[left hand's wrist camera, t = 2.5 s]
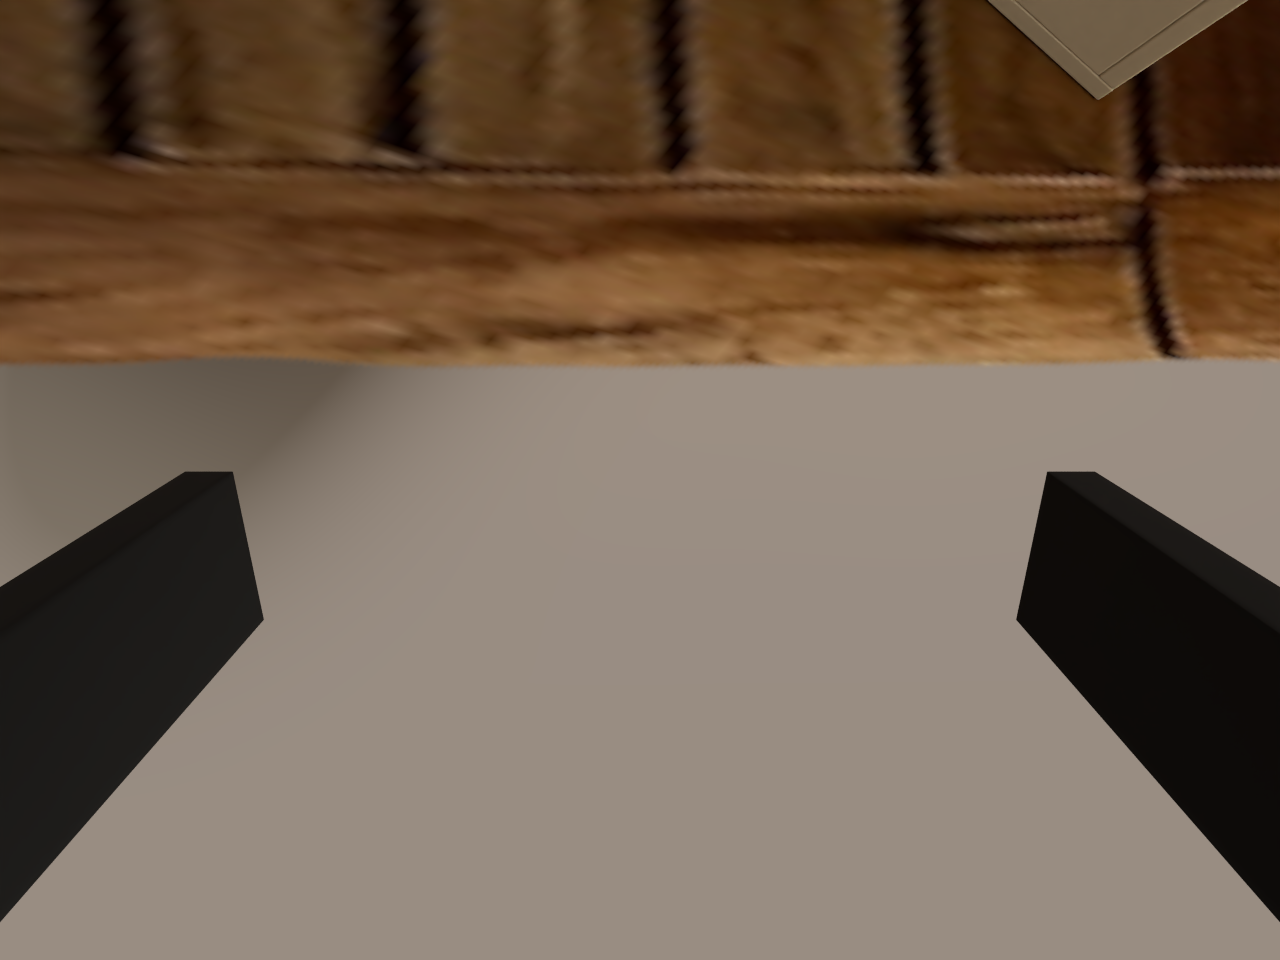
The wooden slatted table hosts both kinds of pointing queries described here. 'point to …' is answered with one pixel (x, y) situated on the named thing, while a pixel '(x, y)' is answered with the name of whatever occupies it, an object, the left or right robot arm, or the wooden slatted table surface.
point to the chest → (1110, 33)
